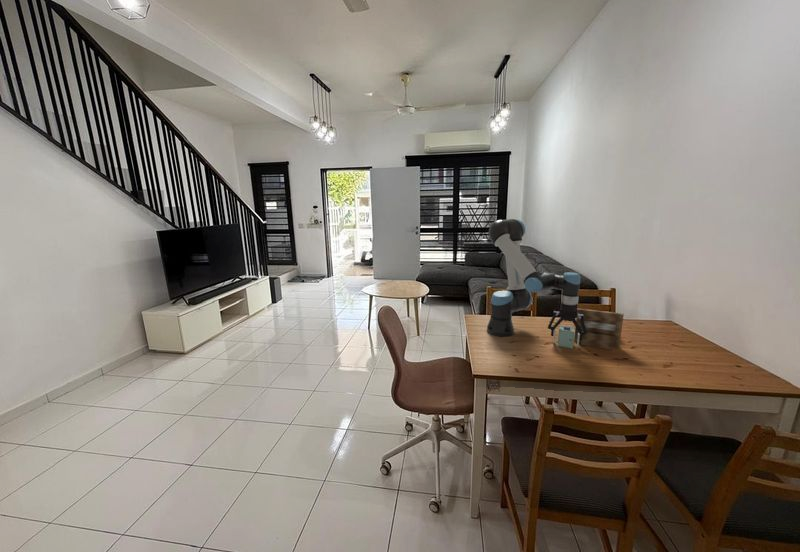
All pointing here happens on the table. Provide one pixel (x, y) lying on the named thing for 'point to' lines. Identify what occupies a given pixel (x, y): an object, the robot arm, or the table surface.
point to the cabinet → (566, 336)
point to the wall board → (600, 328)
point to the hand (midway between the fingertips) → (565, 343)
